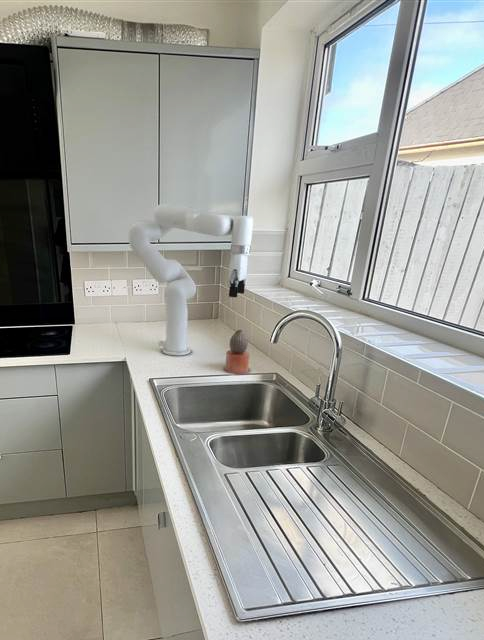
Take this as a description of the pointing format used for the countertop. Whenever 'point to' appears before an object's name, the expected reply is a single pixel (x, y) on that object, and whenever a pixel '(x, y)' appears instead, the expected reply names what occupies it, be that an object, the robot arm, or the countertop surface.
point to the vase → (238, 342)
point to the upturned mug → (237, 362)
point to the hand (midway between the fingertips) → (236, 295)
